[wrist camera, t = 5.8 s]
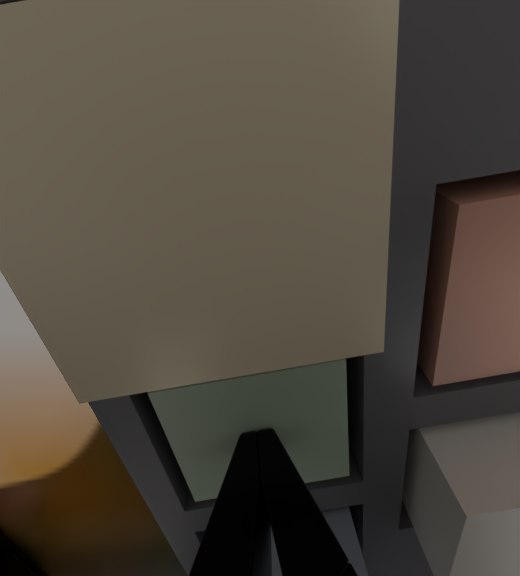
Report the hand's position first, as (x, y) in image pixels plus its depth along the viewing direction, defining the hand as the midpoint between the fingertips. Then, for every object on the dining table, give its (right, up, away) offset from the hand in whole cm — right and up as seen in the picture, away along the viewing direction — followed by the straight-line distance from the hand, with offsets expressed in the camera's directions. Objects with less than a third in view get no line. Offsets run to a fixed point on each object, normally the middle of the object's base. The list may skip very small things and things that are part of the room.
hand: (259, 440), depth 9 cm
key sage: (0, +2, +3) cm, 3 cm away
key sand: (-1, +6, -2) cm, 6 cm away
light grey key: (+7, -1, +2) cm, 7 cm away
